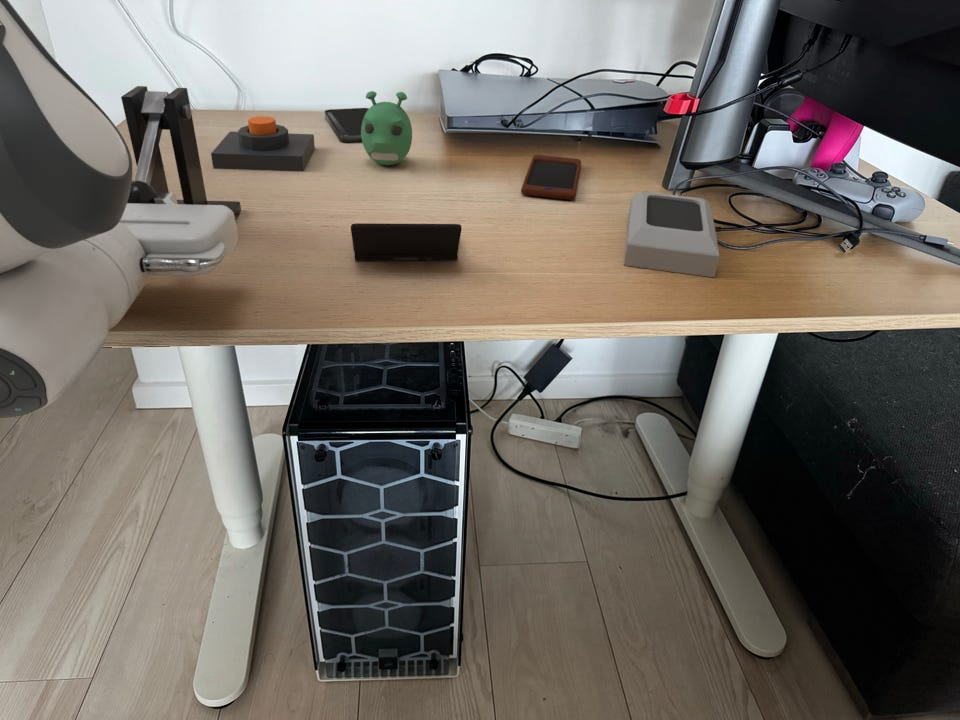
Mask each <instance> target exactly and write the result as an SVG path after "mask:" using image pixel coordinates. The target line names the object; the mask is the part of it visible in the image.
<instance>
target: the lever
mask: <svg viewBox="0 0 960 720" xmlns="http://www.w3.org/2000/svg"><path fill="white" fill-rule="evenodd" d="M169 94H170V93H169V92H168V91H156V90H155V91H154V90H148V91H146V92H145V97H144V101H143V105H142V109H141V114H142V116H143V118H144V120H145V121H146V123H147V128H146V132H145V137H144V141H143V145H142V150H141V154H140V158H139V163H138V167H137V166H136V172H135V176H134V180H132V183H131V189H130V194H129V198H128V202H127V203H139V204H155V202H154V198H155V197H156V196H158V194H157V192H156V191H155V189H154V188H153V187H152V186H150V183H151V178H152V174H153V169H154V165H155V160H156V156H157V151H158V147H160V142H161V138H162V133H163V130H164V131H165V130H166V131H170V130H169V125H168V120H167V114H166V109H165V104H164V98H165V97H166V96H167V95H169Z"/></svg>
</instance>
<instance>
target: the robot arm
mask: <svg viewBox="0 0 960 720" xmlns="http://www.w3.org/2000/svg"><path fill="white" fill-rule="evenodd" d="M132 181H133V159H132V155H131V152H130V148H129V146H128V144H127V143H126V141H125V139H124V137H123V135H122V134H121V132H120V131H119V129H118V127H117V126H116V125H115V123H114V122H113V120H112V119H111V118H110V117H109V116H108V115H107V113H106V112H105V110H103V109H102V108H101V107H100V105H99V104H98V103H97V102H96V101H94V99H93V98H92V97H91V96H90V95H89V94H88V93H87V92H86V90H84V89H83V88H82V86H80V85H79V84H78V83H77V82H76V81H75V79H73V78H72V77H71V76H70V74H68V73H67V71H65V69H64V68H63V67H62V66H61V65H60V64H59V63H58V62H57V60H55V58H54V57H53V56H52V55H51V54H50V53H49V51H48V50H47V49H46V47H45V46H44V45H43V44H42V42H41V41H40V40H39V39H38V37H37V36H36V34H35V33H34V32H33V31H32V29H31V28H30V27H29V26H28V25H27V23H26V22H25V21H24V19H23V17H21V16H20V13H18V11H16V9H15V8H14V6H13V5H12V4H11V2H10V1H9V0H0V419H1V418H3V419H5V418H15V417H21V416H25V415H30V414H32V413H35V412H38V411H41V410H42V409H44V408H46V407H48V406H49V405H51V404H53V403H54V402H55V401H56V400H58V399H59V398H60V397H61V396H62V395H64V394H65V393H66V392H67V391H68V390H69V389H70V388H71V387H72V386H73V384H75V382H77V380H78V379H79V378H80V377H81V376H82V374H83V373H84V372H85V371H86V370H87V368H88V367H89V366H90V365H91V364H92V363H93V361H94V360H95V358H96V357H97V356H98V354H99V353H100V351H101V349H102V348H103V347H104V345H105V343H106V342H107V338H108V336H109V332H110V330H112V329H113V328H114V327H115V326H117V324H118V323H120V322H121V320H122V319H123V318H124V317H125V315H126V314H127V312H128V311H129V309H130V308H131V306H132V305H133V303H134V302H135V301H136V299H137V298H138V296H139V295H140V293H141V292H142V291H143V289H144V287H145V286H146V283H147V281H148V278H149V275H150V276H151V275H152V276H199V275H204V274H207V273H210V272H212V271H214V270H215V269H217V268H218V267H219V266H221V264H222V263H223V262H224V261H225V260H226V259H227V258H228V257H229V256H230V255H231V254H232V252H233V251H234V249H235V248H236V247H237V245H238V242H239V235H238V227H237V221H236V220H235V217H234V213H233V211H232V210H230V209H229V208H228V207H226V206H224V205H187V204H178V203H177V200H178V199H177V195H176V193H173V192H171V193H170V192H169V193H158V196H156V197H155V198H154V202H155V204H139V203H127V202H128V198H129V194H130V189H131V183H132Z"/></svg>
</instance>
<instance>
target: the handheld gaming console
mask: <svg viewBox="0 0 960 720" xmlns="http://www.w3.org/2000/svg"><path fill="white" fill-rule="evenodd" d="M462 229H463V228H462V225H461V224H459V223H370V222H369V223H361V222H360V223H357V222H356V223H352V224H351V225H350V233H351V241H352V247H353V248H352V249H353V252H354V260H355V261H356V262H358V261H360V262H361V261H362V262H363V261H365V262H366V261H367V262H369V261H373V262H374V261H376V262H377V261H378V262H379V261H381V262H383V261H384V262H385V261H387V262H388V261H390V262H391V261H397V260H399V261H400V260H401V261H402V260H403V261H404V260H408V261H409V260H413V261H414V260H415V261H420V262H421V261H431V262H432V261H437V262H439V261H440V262H441V261H458V259H459V255H458V254H459V248H460V241H461V236H462Z"/></svg>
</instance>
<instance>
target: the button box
mask: <svg viewBox="0 0 960 720" xmlns="http://www.w3.org/2000/svg"><path fill="white" fill-rule="evenodd" d="M276 130H277V132H276V133H274V134H268V135H255V134H251V133H250V132H249V125H245V126H242V127H240V128H239V129H238V130H237V131H229V132H228V133H227V134H226V135H225V136H224V137H223V139H222V140H221V141H220V142H219V144H218V145H216V147H215V148H214V149H213V150H212V151H211V153H210V157H211V163H212V168H213V170H215V169H216V170H242V171H243V170H244V171H250V170H251V171H275V172H305V170H306V168H307V165H308V163H309V161H310V159H311V158H312V156H313V153H314V151H315V149H316V146H315V135H314V134H313V133H312V134H311V133H289V129H288V128H286V127H285V126H284V125H280V124H276Z"/></svg>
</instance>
